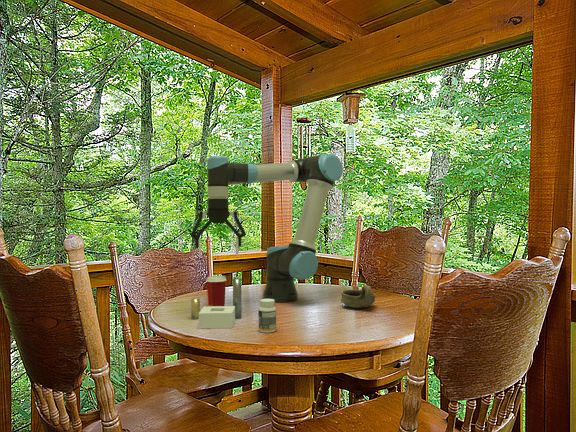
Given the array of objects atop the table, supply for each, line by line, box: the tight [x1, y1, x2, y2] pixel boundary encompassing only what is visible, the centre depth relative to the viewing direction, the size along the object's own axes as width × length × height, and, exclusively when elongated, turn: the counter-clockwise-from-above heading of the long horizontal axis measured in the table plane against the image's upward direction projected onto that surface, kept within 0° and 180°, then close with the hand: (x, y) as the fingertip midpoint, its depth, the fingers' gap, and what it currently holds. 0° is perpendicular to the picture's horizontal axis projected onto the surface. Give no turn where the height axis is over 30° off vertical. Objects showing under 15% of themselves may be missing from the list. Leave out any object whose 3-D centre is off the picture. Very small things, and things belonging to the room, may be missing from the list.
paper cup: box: [205, 275, 227, 306], centre depth 171 cm, size 8×8×14 cm
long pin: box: [232, 278, 243, 320], centre depth 165 cm, size 3×3×14 cm
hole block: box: [198, 305, 236, 330], centre depth 156 cm, size 11×11×5 cm
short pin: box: [190, 297, 201, 320], centre depth 164 cm, size 3×3×7 cm
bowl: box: [340, 285, 376, 309], centre depth 179 cm, size 14×18×10 cm
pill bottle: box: [257, 298, 277, 334], centre depth 147 cm, size 6×6×10 cm
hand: (218, 256), depth 169 cm, fingers open, 13 cm apart
